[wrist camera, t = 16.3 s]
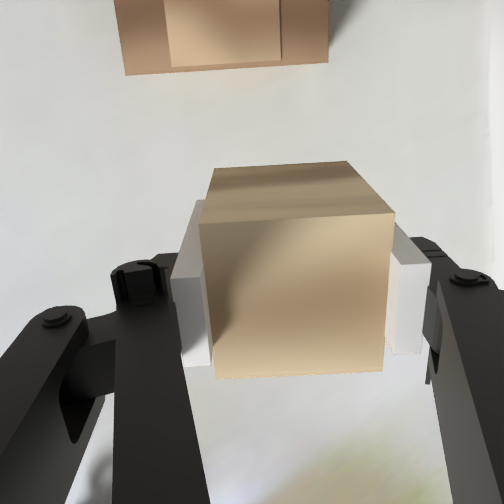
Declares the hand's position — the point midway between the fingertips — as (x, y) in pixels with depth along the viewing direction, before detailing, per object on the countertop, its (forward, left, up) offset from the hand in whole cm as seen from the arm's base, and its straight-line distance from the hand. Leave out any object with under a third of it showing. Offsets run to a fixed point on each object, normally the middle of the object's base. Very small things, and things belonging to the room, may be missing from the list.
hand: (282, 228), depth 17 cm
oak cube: (0, 0, 0) cm, 0 cm away
